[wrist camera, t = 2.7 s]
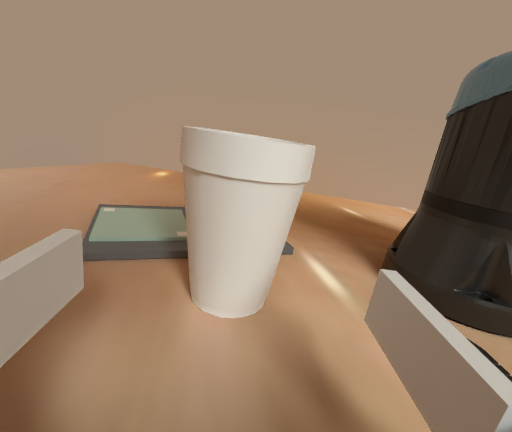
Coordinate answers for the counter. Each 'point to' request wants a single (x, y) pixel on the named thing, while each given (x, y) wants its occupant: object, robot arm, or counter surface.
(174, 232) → the tile board
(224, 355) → the counter surface
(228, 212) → the foam cup
